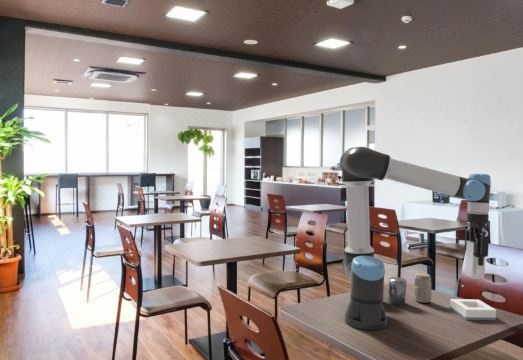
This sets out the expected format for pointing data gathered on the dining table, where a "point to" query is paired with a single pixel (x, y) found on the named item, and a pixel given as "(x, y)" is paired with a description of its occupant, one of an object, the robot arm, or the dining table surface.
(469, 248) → the square peg
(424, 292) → the carving
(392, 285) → the round bit
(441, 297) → the dining table surface
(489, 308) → the bore block
